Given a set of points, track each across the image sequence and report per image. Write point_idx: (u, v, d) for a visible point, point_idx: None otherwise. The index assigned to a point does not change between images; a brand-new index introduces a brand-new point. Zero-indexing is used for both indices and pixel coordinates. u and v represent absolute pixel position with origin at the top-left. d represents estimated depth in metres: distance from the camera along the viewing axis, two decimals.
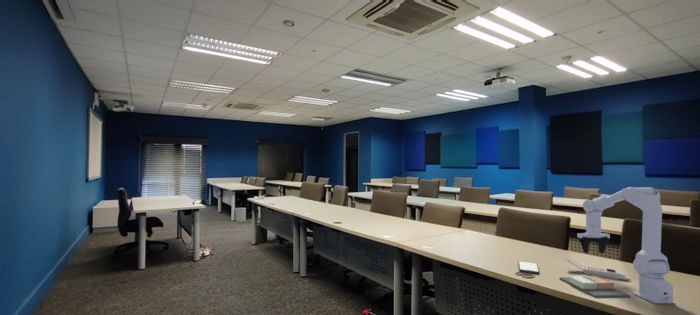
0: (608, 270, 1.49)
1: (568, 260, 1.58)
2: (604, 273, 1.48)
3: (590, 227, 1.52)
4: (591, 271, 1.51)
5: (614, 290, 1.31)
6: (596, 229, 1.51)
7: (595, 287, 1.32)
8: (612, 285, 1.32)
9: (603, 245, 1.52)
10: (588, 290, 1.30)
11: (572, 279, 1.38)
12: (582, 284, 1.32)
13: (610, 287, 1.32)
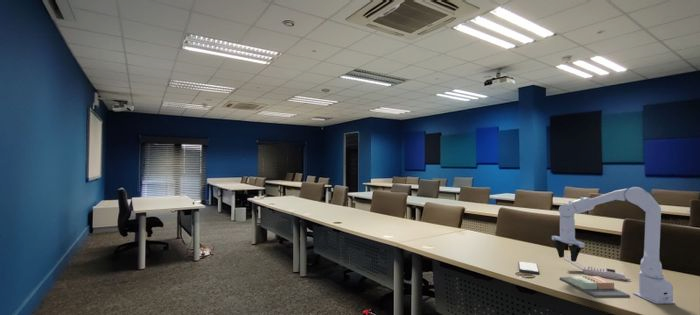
0: (608, 270, 1.49)
1: (568, 260, 1.58)
2: (603, 273, 1.48)
3: None
4: (590, 271, 1.52)
5: (614, 290, 1.31)
6: (561, 233, 1.45)
7: (595, 287, 1.32)
8: (612, 285, 1.32)
9: None
10: (588, 290, 1.30)
11: (572, 279, 1.38)
12: (582, 284, 1.32)
13: (610, 287, 1.32)
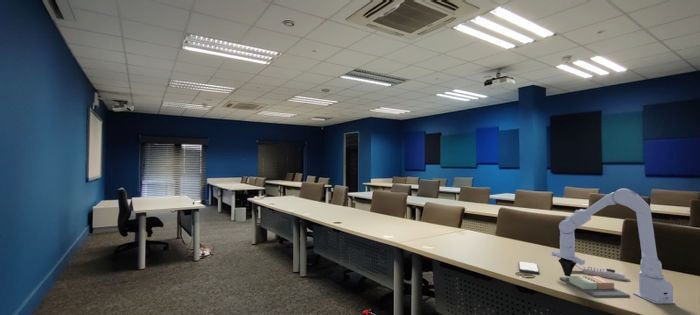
0: (607, 270, 1.49)
1: None
2: (603, 273, 1.48)
3: None
4: (590, 271, 1.52)
5: (614, 290, 1.31)
6: (561, 249, 1.45)
7: (595, 287, 1.32)
8: (612, 285, 1.32)
9: None
10: (588, 290, 1.30)
11: (572, 279, 1.38)
12: (582, 284, 1.32)
13: (610, 287, 1.32)
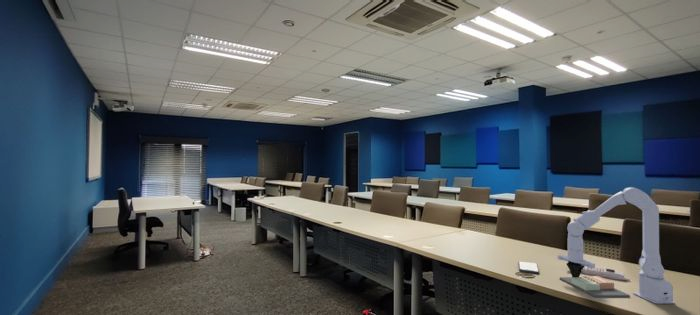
0: (607, 270, 1.49)
1: None
2: (603, 273, 1.48)
3: None
4: (590, 271, 1.52)
5: (614, 290, 1.31)
6: (570, 252, 1.39)
7: (598, 288, 1.30)
8: (612, 285, 1.32)
9: None
10: (588, 290, 1.30)
11: (574, 280, 1.36)
12: (585, 285, 1.30)
13: (610, 287, 1.32)
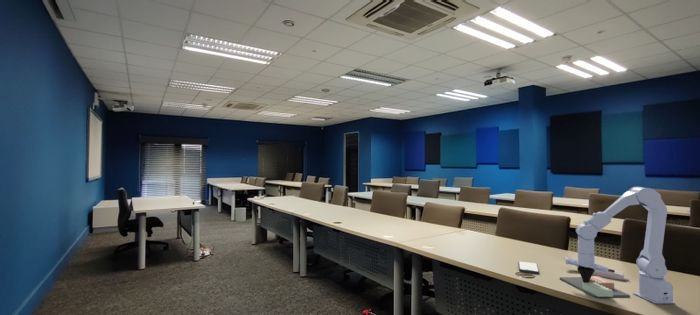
0: None
1: None
2: (602, 273, 1.49)
3: (578, 254, 1.35)
4: None
5: (614, 290, 1.31)
6: (582, 257, 1.33)
7: (611, 295, 1.24)
8: (612, 285, 1.32)
9: None
10: None
11: (586, 286, 1.30)
12: (597, 291, 1.24)
13: (610, 287, 1.32)
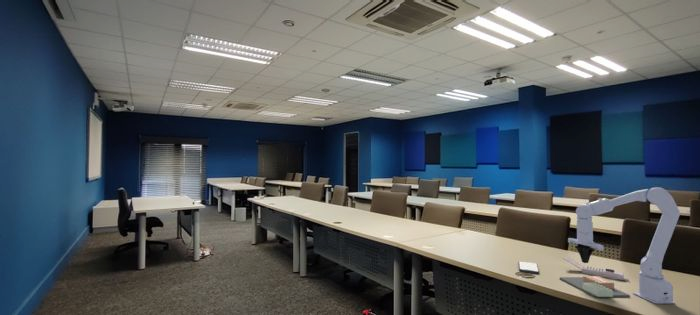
0: (607, 270, 1.49)
1: (567, 259, 1.59)
2: (602, 273, 1.49)
3: None
4: (589, 270, 1.52)
5: (614, 290, 1.31)
6: (578, 235, 1.40)
7: (611, 295, 1.24)
8: (612, 285, 1.32)
9: None
10: None
11: (586, 286, 1.30)
12: (597, 291, 1.24)
13: (610, 287, 1.32)
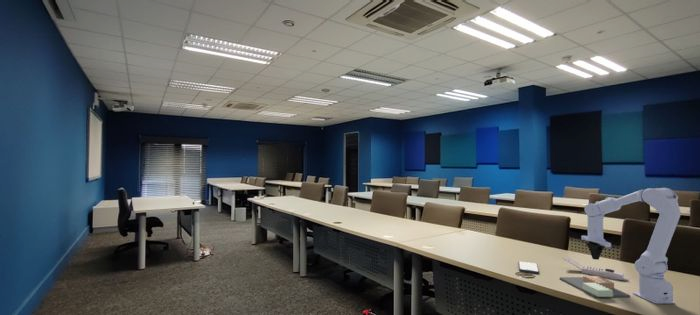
0: (606, 270, 1.49)
1: (567, 259, 1.59)
2: (602, 273, 1.49)
3: None
4: (589, 270, 1.52)
5: (614, 290, 1.31)
6: (588, 232, 1.46)
7: (611, 295, 1.24)
8: (612, 285, 1.32)
9: None
10: None
11: (586, 286, 1.30)
12: (597, 291, 1.24)
13: (610, 287, 1.32)
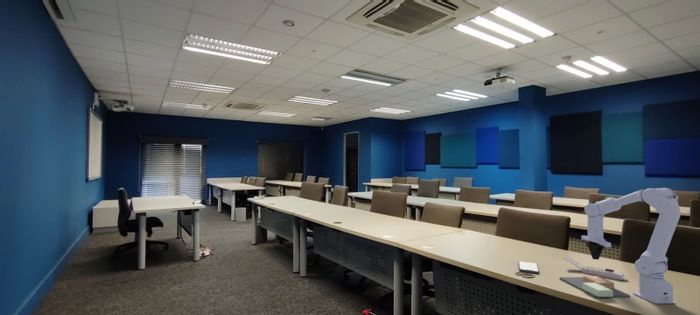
0: (606, 270, 1.49)
1: (567, 258, 1.60)
2: (601, 272, 1.49)
3: None
4: (588, 270, 1.53)
5: (614, 290, 1.31)
6: (588, 232, 1.46)
7: (611, 295, 1.24)
8: (612, 285, 1.32)
9: None
10: None
11: (586, 286, 1.30)
12: (597, 291, 1.24)
13: (610, 287, 1.32)
